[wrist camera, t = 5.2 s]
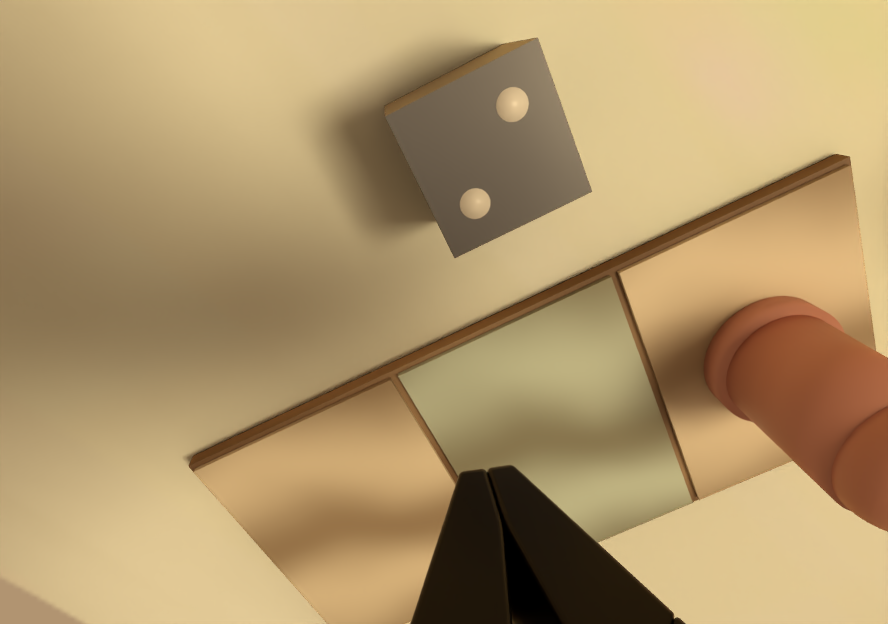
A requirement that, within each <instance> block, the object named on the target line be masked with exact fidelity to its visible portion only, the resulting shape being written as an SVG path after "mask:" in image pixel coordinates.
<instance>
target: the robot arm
mask: <svg viewBox="0 0 888 624" xmlns="http://www.w3.org/2000/svg"><path fill="white" fill-rule="evenodd" d="M410 624H685V623H684V622H683V621H682V620H681V619H680V618H675V619H674V613H673V612H672V611H671V610H670V609H669V608H668V607H667V606H665V605H664V604H663V603H662V602H661V601H660V600H659V599H658V598H657V597H656V596H655V595H654V594H652V593H651V592H650V591H649V590H648V589H647V588H646V587H645V586H644V585H643V584H642V583H641V582H639V581H638V580H637V579H636V578H635V577H634V576H633V575H632V574H631V573H630V572H629V571H628V570H626V569H625V568H624V567H623V566H622V565H621V564H620V563H619V562H618V561H617V560H616V559H615V558H613V557H612V556H611V555H610V554H609V553H608V552H607V551H606V550H605V549H604V548H603V547H602V546H600V545H599V544H598V543H597V542H596V541H595V540H594V539H593V538H592V537H591V536H590V535H589V534H587V533H586V532H585V531H584V530H583V529H582V528H581V527H580V526H579V525H578V524H577V523H576V522H574V521H573V520H572V519H571V518H570V517H569V516H568V515H567V514H566V513H565V512H564V511H563V510H561V509H560V508H559V507H558V506H557V505H556V504H555V503H554V502H553V501H552V500H551V499H550V498H548V497H547V496H546V495H545V494H544V493H543V492H542V491H541V490H540V489H539V488H538V487H537V486H535V485H534V484H533V483H532V482H531V481H530V480H529V479H528V478H527V477H526V476H525V475H524V474H522V473H521V472H520V471H519V470H518V469H517V468H516V467H515V466H513V465H504V466H496V467H490V468H489V469H488V471H487V472H486V470H485V469H475V470H467V471H462V472H461V473H460V474H459V476H458V479H457V482H456V485H455V488H454V491H453V494H452V497H451V500H450V503H449V507H448V510H447V513H446V516H445V519H444V522H443V525H442V528H441V531H440V534H439V537H438V540H437V543H436V546H435V550H434V553H433V556H432V559H431V562H430V565H429V568H428V571H427V574H426V577H425V580H424V583H423V586H422V590H421V593H420V596H419V599H418V602H417V605H416V608H415V611H414V614H413V617H412V620H411V623H410Z"/></svg>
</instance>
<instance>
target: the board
mask: <svg viewBox="0 0 888 624" xmlns="http://www.w3.org/2000/svg"><path fill="white" fill-rule="evenodd" d="M775 296H792V297H797V298H801V299H803V300H805V301H807V302H809V303H811V304H813V305H815V306H816V307H818V308H820V309H822V310H824V311H825V312H827V313H829V314H830V315H832V316H833V317H834V318H835V319H836V320H837V321H838V322H839V323H840V325H841V326H842V328H843V330H844V332H845V334H847V335H849V336H851V337H852V338H854V339H856V340H858V341H859V342H861V343H863V344H865V345H866V346H868V347H870V348H871V349H873V350H875V351H876V347H875V339H874V332H873V325H872V317H871V310H870V302H869V295H868V287H867V280H866V273H865V265H864V258H863V250H862V243H861V236H860V228H859V221H858V213H857V206H856V199H855V191H854V184H853V176H852V169H851V161H850V157H849V156H844V155H839V154H835V155H833V156H831V157H829V158H827V159H825V160H822V161H820V162H818V163H816V164H814V165H812V166H810V167H808V168H805V169H803V170H801V171H799V172H797V173H795V174H793V175H791V176H788V177H786V178H784V179H782V180H780V181H778V182H776V183H774V184H771V185H769V186H767V187H765V188H763V189H761V190H759V191H756V192H754V193H752V194H750V195H748V196H746V197H744V198H742V199H739V200H737V201H735V202H733V203H731V204H729V205H727V206H725V207H722V208H720V209H718V210H716V211H714V212H712V213H710V214H707V215H705V216H703V217H701V218H699V219H697V220H695V221H693V222H690V223H688V224H686V225H684V226H682V227H680V228H678V229H676V230H673V231H671V232H669V233H667V234H665V235H663V236H661V237H658V238H656V239H654V240H652V241H650V242H648V243H646V244H644V245H641V246H639V247H637V248H635V249H633V250H631V251H629V252H627V253H624V254H622V255H620V256H618V257H616V258H614V259H612V260H610V261H607V262H605V263H603V264H601V265H599V266H597V267H595V268H592V269H590V270H588V271H586V272H584V273H582V274H580V275H578V276H575V277H573V278H571V279H569V280H567V281H565V282H563V283H561V284H558V285H556V286H554V287H552V288H550V289H548V290H546V291H543V292H541V293H539V294H537V295H535V296H533V297H531V298H529V299H526V300H524V301H522V302H520V303H518V304H516V305H514V306H512V307H509V308H507V309H505V310H503V311H501V312H499V313H497V314H494V315H492V316H490V317H488V318H486V319H484V320H482V321H480V322H477V323H475V324H473V325H471V326H469V327H467V328H465V329H463V330H460V331H458V332H456V333H454V334H452V335H450V336H448V337H446V338H443V339H441V340H439V341H437V342H435V343H433V344H431V345H428V346H426V347H424V348H422V349H420V350H418V351H416V352H414V353H411V354H409V355H407V356H405V357H403V358H401V359H399V360H397V361H394V362H392V363H390V364H388V365H386V366H384V367H382V368H379V369H377V370H375V371H373V372H371V373H369V374H367V375H365V376H362V377H360V378H358V379H356V380H354V381H352V382H350V383H348V384H345V385H343V386H341V387H339V388H337V389H335V390H333V391H330V392H328V393H326V394H324V395H322V396H320V397H318V398H316V399H313V400H311V401H309V402H307V403H305V404H303V405H301V406H299V407H296V408H294V409H292V410H290V411H288V412H286V413H284V414H281V415H279V416H277V417H275V418H273V419H271V420H269V421H267V422H264V423H262V424H260V425H258V426H256V427H254V428H252V429H250V430H247V431H245V432H243V433H241V434H239V435H237V436H235V437H233V438H230V439H228V440H226V441H224V442H222V443H220V444H218V445H215V446H213V447H211V448H209V449H207V450H205V451H203V452H201V453H198V454H196V455H194V456H193V458H192V460H191V462H190V464H189V468H190V469H191V470H192V471H193V472H194V473H195V474H196V475H197V477H198V478H199V479H200V480H201V481H202V482H203V483H204V484H205V486H206V487H207V488H208V489H209V490H210V491H211V492H212V494H213V495H214V496H215V497H216V498H217V499H218V500H219V501H220V503H221V504H222V505H223V506H224V507H225V508H226V509H227V511H228V512H229V513H230V514H231V515H232V516H233V517H234V518H235V520H236V521H237V522H238V523H239V524H240V525H241V526H242V527H243V529H244V530H245V531H246V532H247V533H248V534H249V535H250V537H251V538H252V539H253V540H254V541H255V542H256V543H257V544H258V546H259V547H260V548H261V549H262V550H263V551H264V552H265V554H266V555H267V556H268V557H269V558H270V559H271V560H272V561H273V563H274V564H275V565H276V566H277V567H278V568H279V569H280V570H281V572H282V573H283V574H284V575H285V576H286V577H287V578H288V580H289V581H290V582H291V583H292V584H293V585H294V586H295V587H296V589H297V590H298V591H299V592H300V593H301V594H302V595H303V597H304V598H305V599H306V600H307V601H308V602H309V603H310V604H311V606H312V607H313V608H314V609H315V610H316V611H317V612H318V613H319V615H320V616H321V617H322V618H323V619H324V620H325V621H326V623H327V624H405V623H407V622H410V621H411V620H412V617H413V614H414V611H415V608H416V605H417V602H418V599H419V596H420V593H421V590H422V586H423V583H424V580H425V577H426V574H427V571H428V568H429V565H430V562H431V559H432V556H433V553H434V550H435V546H436V543H437V540H438V537H439V534H440V531H441V528H442V525H443V522H444V519H445V516H446V513H447V510H448V507H449V503H450V500H451V497H452V494H453V491H454V488H455V485H456V482H457V479H458V476H459V474H460V473H461V472H462V471H467V470H475V469H485V470H486V472H487V471H488V469H489V468H490V467H496V466H504V465H513V466H515V467H516V468H517V469H518V470H519V471H520V472H521V473H522V474H524V475H525V476H526V477H527V478H528V479H529V480H530V481H531V482H532V483H533V484H534V485H535V486H537V487H538V488H539V489H540V490H541V491H542V492H543V493H544V494H545V495H546V496H547V497H548V498H550V499H551V500H552V501H553V502H554V503H555V504H556V505H557V506H558V507H559V508H560V509H561V510H563V511H564V512H565V513H566V514H567V515H568V516H569V517H570V518H571V519H572V520H573V521H574V522H576V523H577V524H578V525H579V526H580V527H581V528H582V529H583V530H584V531H585V532H586V533H587V534H589V535H590V536H591V537H592V538H593V539H594V540H595V541H596V542H597V543H598V542H600V541H603V540H605V539H607V538H610V537H612V536H615V535H617V534H619V533H622V532H624V531H626V530H629V529H631V528H634V527H636V526H638V525H641V524H643V523H645V522H648V521H650V520H653V519H655V518H657V517H660V516H662V515H664V514H667V513H669V512H672V511H674V510H676V509H679V508H681V507H684V506H686V505H688V504H691V503H693V502H694V501H696V500H698V499H699V500H700V499H703V498H705V497H707V496H710V495H712V494H714V493H717V492H719V491H722V490H724V489H726V488H729V487H731V486H734V485H736V484H738V483H741V482H743V481H745V480H748V479H750V478H753V477H755V476H757V475H760V474H762V473H764V472H767V471H769V470H772V469H774V468H776V467H779V466H781V465H783V464H786V463H788V462H791V461H793V460H792V459H791V458H790V457H789V456H788V455H787V454H786V453H785V452H784V451H783V450H782V449H781V448H779V447H778V446H777V445H776V444H775V443H774V442H773V441H772V440H771V439H770V438H769V437H768V436H767V435H766V434H765V433H764V432H763V431H762V430H761V429H760V428H759V427H758V426H757V425H756V424H755V423H753V422H751V421H746V420H744V419H741V418H739V417H737V416H735V415H734V414H733V413H731V412H730V411H729V410H728V409H727V408H726V407H725V406H724V405H723V404H722V403H721V402H720V401H719V400H718V399H717V398H716V397H715V396H714V395H713V394H712V393H711V391H710V390H709V388H708V386H707V384H706V381H705V377H704V360H705V355H706V352H707V349H708V346H709V344H710V342H711V340H712V338H713V337H714V335H715V334H716V332H717V331H718V330H719V329H720V327H721V326H722V325H723V324H724V323H725V322H726V321H727V320H728V319H729V318H730V317H731V316H732V315H734V314H735V313H736V312H738V311H739V310H741V309H742V308H744V307H746V306H748V305H749V304H751V303H754V302H756V301H759V300H761V299H765V298H769V297H775Z"/></svg>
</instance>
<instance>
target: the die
mask: <svg viewBox="0 0 888 624" xmlns="http://www.w3.org/2000/svg"><path fill="white" fill-rule="evenodd" d="M385 118H386V120H387V122H388V124H389V126H390V128H391V130H392V132H393V134H394V136H395V138H396V140H397V142H398V144H399V146H400V148H401V150H402V153H403V155H404V157H405V159H406V161H407V163H408V165H409V167H410V169H411V171H412V173H413V175H414V177H415V179H416V181H417V183H418V185H419V187H420V189H421V191H422V193H423V195H424V197H425V199H426V201H427V203H428V205H429V207H430V209H431V211H432V213H433V215H434V217H435V219H436V221H437V223H438V225H439V228H440V230H441V232H442V234H443V236H444V238H445V240H446V242H447V244H448V246H449V248H450V250H451V252H452V254H453V256H454V258H456V257H458V256H460V255H462V254H465V253H467V252H469V251H471V250H473V249H475V248H477V247H479V246H481V245H483V244H485V243H487V242H489V241H491V240H493V239H495V238H498V237H500V236H502V235H504V234H506V233H508V232H510V231H512V230H514V229H516V228H518V227H520V226H522V225H524V224H526V223H528V222H531V221H533V220H535V219H537V218H539V217H541V216H543V215H545V214H547V213H549V212H551V211H553V210H555V209H557V208H559V207H562V206H564V205H566V204H568V203H570V202H572V201H574V200H576V199H578V198H580V197H582V196H584V195H586V194H588V193H590V192H592V190H591V187H590V184H589V181H588V179H587V176H586V173H585V170H584V167H583V164H582V162H581V159H580V156H579V153H578V150H577V147H576V145H575V142H574V139H573V136H572V133H571V130H570V128H569V125H568V122H567V119H566V116H565V113H564V111H563V108H562V105H561V102H560V99H559V96H558V94H557V91H556V88H555V85H554V82H553V79H552V77H551V74H550V71H549V68H548V65H547V62H546V60H545V57H544V54H543V51H542V48H541V45H540V43H539V40H538V38H532V39H527V40H521V41H516V42H510V43H505V44H502V45H501V46H499V47H497V48H495V49H493V50H491V51H489V52H487V53H485V54H483V55H481V56H479V57H477V58H476V59H474V60H472V61H470V62H468V63H466V64H464V65H462V66H460V67H458V68H456V69H454V70H452V71H451V72H449V73H447V74H445V75H443V76H441V77H439V78H437V79H435V80H433V81H431V82H429V83H427V84H426V85H424V86H422V87H420V88H418V89H416V90H414V91H412V92H410V93H408V94H406V95H404V96H402V97H400V98H399V99H397V100H395V101H393V102H391V103H389V104H387V105H385Z"/></svg>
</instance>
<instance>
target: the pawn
mask: <svg viewBox="0 0 888 624" xmlns="http://www.w3.org/2000/svg"><path fill="white" fill-rule="evenodd" d="M704 377H705V381H706V384H707V386H708V388H709V390H710V391H711V393H712V394H713V395H714V396H715V397H716V398H717V399H718V400H719V401H720V402H721V403H722V404H723V405H724V406H725V407H726V408H727V409H728V410H729V411H730V412H731V413H733V414H734V415H735V416H737V417H739V418H741V419H744V420H746V421H751V422H753V423H755V424H756V425H757V426H758V427H759V428H760V429H761V430H762V431H763V432H764V433H765V434H766V435H767V436H768V437H769V438H770V439H771V440H772V441H773V442H774V443H775V444H776V445H777V446H778V447H779V448H781V449H782V450H783V451H784V452H785V453H786V454H787V455H788V456H789V457H790V458H791V459H792V460H793V461H794V462H795V463H796V464H797V465H798V466H799V467H800V468H801V469H802V470H803V471H804V472H805V473H807V474H808V475H809V476H810V477H811V478H812V479H813V480H814V481H815V482H816V483H817V484H818V485H819V486H820V487H821V488H822V489H823V490H824V491H825V492H826V493H827V494H828V495H829V496H830V497H831V498H832V499H834V500H835V501H836V502H837V503H838V504H839V505H840V506H842V507H843V508H845V509H847V510H850V511H852V512H853V513H855V514H856V515H857V516H859V517H860V518H862V519H863V520H865V521H866V522H868V523H870V524H872V525H874V526H876V527H878V528H880V529H882V530H885V531H888V358H887V357H885V356H884V355H882V354H880V353H878V352H877V351H875V350H873V349H871V348H870V347H868V346H866V345H865V344H863V343H861V342H859V341H858V340H856V339H854V338H852V337H851V336H849V335H847V334H845V332H844V330H843V328H842V326H841V325H840V323H839V322H838V321H837V320H836V319H835V318H834V317H833V316H832V315H830V314H829V313H827V312H825V311H824V310H822V309H820V308H818V307H816V306H815V305H813V304H811V303H809V302H807V301H805V300H803V299H801V298H797V297H792V296H775V297H769V298H765V299H761V300H759V301H756V302H754V303H751V304H749V305H748V306H746V307H744V308H742V309H741V310H739V311H738V312H736V313H735V314H734V315H732V316H731V317H730V318H729V319H728V320H727V321H726V322H725V323H724V324H723V325H722V326H721V327H720V329H719V330H718V331H717V332H716V334H715V335H714V337H713V338H712V340H711V342H710V344H709V346H708V349H707V352H706V355H705V360H704Z"/></svg>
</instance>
